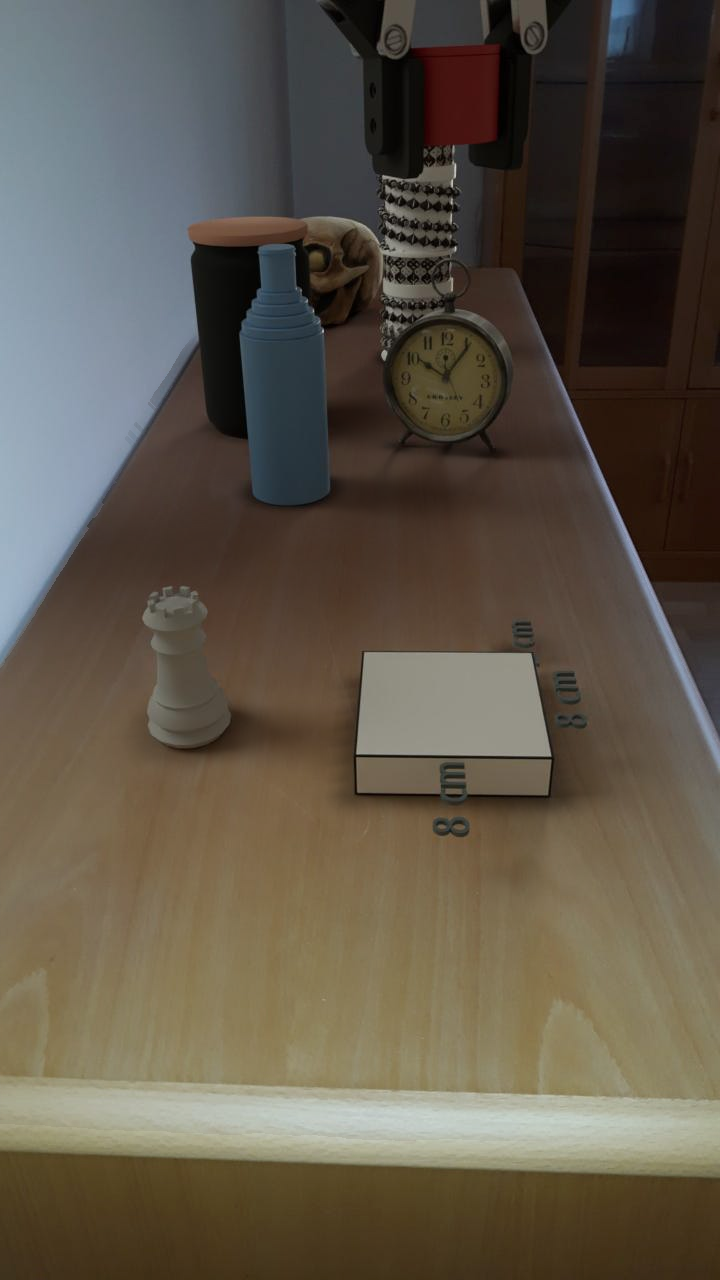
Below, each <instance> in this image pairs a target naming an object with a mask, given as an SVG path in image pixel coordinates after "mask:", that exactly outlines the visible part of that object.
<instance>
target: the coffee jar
mask: <svg viewBox="0 0 720 1280" xmlns="http://www.w3.org/2000/svg"><path fill="white" fill-rule="evenodd" d="M307 233H308V225H307V223H306V222H304V221H302V220H300V219H298V218H293V217H283V216H237V217H225V218H215V219H210V220H205V221H200V222H196V223H193V224H191V225H190V226H188V227H187V234H188V238H189V240H190V242H192V244H193V245H194V250H193V252H192V253H191V255H190V268H191V269H190V270H191V279H192V289H193V298H194V306H195V308H194V309H195V316H196V326H197V327H196V328H197V336H198V345H199V354H200V355H199V356H200V363H201V374H202V383H203V392H204V393H203V394H204V402H205V412H206V415H207V418H208V420H209V422H210V423H211V424H212V425H213V426H214V428H215V430H217V431H218V432H219V433H222V434H224V435H227V436H230V437H236V438H243V439H244V438H245V439H248V429H247V417H246V405H245V394H244V382H243V370H242V358H241V346H240V331H241V330H242V321H243V320H244V319H246V318H247V311H248V310H249V309H250V308H252V300H253V299H255V298H257V290H258V289H260V288H261V275H260V261H259V254H258V251H259V247H260V246H263V245H269V244H290V245H293V246H294V248H296V250H295V253H296V256H295V270H296V286H297V287H300V288H301V290H302V296H304V297H306V298H307V299H308V306H311V307H312V305H311V282H310V260H309V253H308V251H307V250H306V249H305V247H304V246H303V240H304V238H305V236H306V235H307Z"/></svg>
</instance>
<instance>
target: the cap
mask: <svg viewBox="0 0 720 1280" xmlns="http://www.w3.org/2000/svg"><path fill="white" fill-rule="evenodd" d="M499 53H500V44H491V45H484V44H472V45H449V46H448V45H447V46H445V45H444V46H424V47H421V46H420V47H411V59H421V63H422V64H423V66H424V146H443V145H444V146H445V145H455V146H462V145H463V146H464V145H465V146H466V145H469V144H478V143H486V142H492V141H495V140H496V139H497V130H498V99H499V67H500V55H499Z"/></svg>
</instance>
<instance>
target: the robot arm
mask: <svg viewBox="0 0 720 1280" xmlns="http://www.w3.org/2000/svg"><path fill="white" fill-rule="evenodd" d="M315 1H316V2H317V3H318V5H319V6H320V8H321V9H322V10H323V12H324V13H325V15H327V17H328V18H329V19H330V21H332V23H333V24H334V25H335V26H336V28H337V29H338V30H339V31H340V33H341V34H342V35H343V36H344V37H345V39H346V40H347V41H348V44H349V48H350V52H351V53H352V55H353V56H354V57H355V58H356V59H359V60H361V61H362V70H363V71H362V79H363V80H362V81H363V86H362V87H363V123H364V124H363V125H364V126H363V127H364V144H365V149H366V151H367V152H368V154H369V155H371V165H372V170H373V172H374V173H375V174H376V175H378V176H379V175H384V176H389V177H395V178H400V179H414V178H418V177H419V175H420V174H422V172H423V168H424V66H423V64H422V63H421V59H411V48H412V41H411V40H412V33H413V26H414V19H415V11H416V4H417V0H315ZM571 2H572V0H479V8H480V17H481V28H482V35H483V37H482V38H483V45H491V44H500V53H499V55H500V67H499V99H498V130H497V139H496V140H495V141H492V142H486V143H478V144H468V149H467V151H468V152H467V153H468V154H467V157H468V161H469V163H470V164H472V165H473V166H474V167H478V168H480V167H481V168H486V169H491V170H500V171H505V172H507V171H518V170H519V171H520V169H521V168H522V166H523V162H524V149H525V148H524V147H525V142H526V140H527V138H528V133H529V118H530V100H531V82H532V81H531V80H532V63H533V62H532V60H533V55H537V54H539V53H541V52H542V51H543V49H544V48H545V46H546V44H547V43H548V42H547V41H548V38H549V37H548V36H549V35H548V34H549V32H550V30H551V29H552V27H553V26H554V24H555V23H556V22H557V21H558V20H559V18H560V17H561V15H563V13H564V11H565V10H566V9H567V8H568V6H569V5H570V4H571Z"/></svg>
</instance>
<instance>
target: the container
mask: <svg viewBox="0 0 720 1280" xmlns="http://www.w3.org/2000/svg"><path fill="white" fill-rule="evenodd" d="M511 629H512V635H513V639H514V641H513V644H514V645H515V646H516V647H518V648H522V649H530V648H533V647H534V646H535V645H536V637H534V635H535V634H534V632H533V626H532V620H514V621H512V622H511ZM519 639H530V641H528V642H522V641H519ZM537 668H540V659H539V654H537V653H535V654H534V651H449V650H447V651H445V650H444V651H443V650H441V651H439V650H438V651H437V650H436V651H435V650H433V651H432V650H431V651H429V650H426V651H425V650H417V651H415V650H362V651H361V661H360V673H359V674H360V675H359V676H360V677H359V686H358V696H357V697H358V699H357V711H356V721H355V722H356V723H355V734H354V748H353V774H354V775H353V777H354V780H353V781H354V795H376V796H377V795H379V796H381V795H382V796H387V795H388V796H440V800H441V801H442V802H443V803H445V804H446V805H450V806H460V805H464V804H465V803H466V802H467V800H468V797H525V798H527V797H529V798H530V797H531V798H532V797H533V798H534V797H535V798H551V795H552V794H551V793H552V784H553V774H554V764H555V755H554V750H553V745H552V740H551V735H550V729H549V725H548V720H547V715H546V714H547V713H546V709H545V705H544V700H543V695H542V689H541V685H540V680H539V675H538V669H537ZM575 675H576V672H575V671H574V670H556V671H554V672H552V681H554V683H553V686H554V687H553V688H555V693H556V699H557V701H558V702H560V703H561V704H564V705H577V704H579V703H580V702H581V697H582V694H581V692H580V691H579V688H580V687H579V685H577V683H578V682H577V681H578V680H577V678H576V677H575ZM561 693H575V694H574V695H575V697H572V698H571V697H564V696H563V695H562V694H561ZM553 719H554V721H553V722H554V725H555V726H556V727H558V728H561V729H567V728H569V727H570V726H571V727H572V728H574V729H578V730H582V729H585V728H586V727H587V726H588V718H587V716H586V715H585V714H584V713H582V712H572V713H570V714H569V715H568V713H565V712H564V713H563V712H558V713H556V714H555V715H554V718H553ZM561 720H564V721H561ZM575 720H581V721H575ZM450 796H453V797H450ZM455 796H456V797H455ZM457 796H458V797H457ZM470 824H471V823H470V822H469V820H468V819H467V818H465V817H463V816H454V817H452V818H451V819H450V820H449V819H448V818H446V817H444V816H443V817H440V816H439V817H436V818H435V819H434V820H433V821H432V831H433V833H434V834H435V835H436V836H439V837H445V836H448V835H450V834H451V835H452V836H453V837H456V838H464V837H467V836H468V835H469V833H470V827H471V826H470ZM441 825H442V826H445V827H444V828H440V827H438V826H441ZM457 825H462V826H464V828H462V829H458V828H455V826H457Z"/></svg>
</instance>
